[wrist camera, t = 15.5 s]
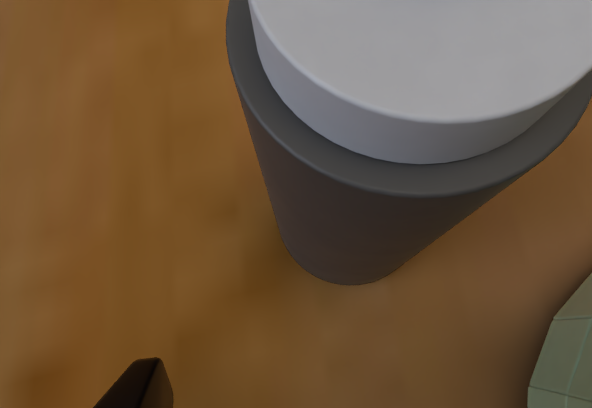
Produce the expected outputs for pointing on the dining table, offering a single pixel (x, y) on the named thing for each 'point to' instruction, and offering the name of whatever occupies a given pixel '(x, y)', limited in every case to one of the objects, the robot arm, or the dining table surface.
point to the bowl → (566, 357)
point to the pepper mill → (400, 114)
